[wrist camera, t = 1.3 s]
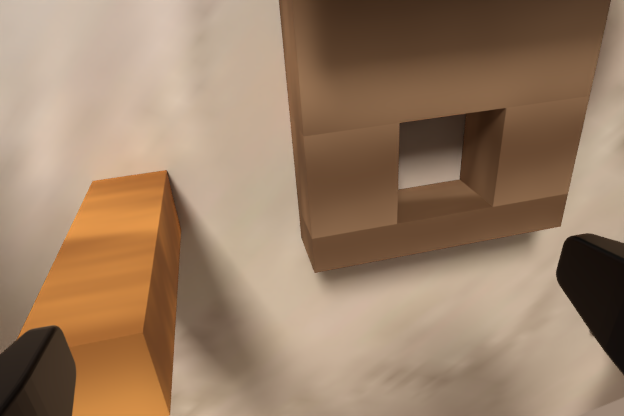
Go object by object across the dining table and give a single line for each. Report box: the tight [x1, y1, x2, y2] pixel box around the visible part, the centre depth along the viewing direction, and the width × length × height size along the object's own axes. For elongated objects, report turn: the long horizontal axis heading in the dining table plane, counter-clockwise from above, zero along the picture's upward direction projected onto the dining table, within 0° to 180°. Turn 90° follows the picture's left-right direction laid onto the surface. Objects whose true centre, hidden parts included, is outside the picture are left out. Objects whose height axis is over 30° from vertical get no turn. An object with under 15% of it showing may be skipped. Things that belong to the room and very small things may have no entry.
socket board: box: [279, 0, 611, 273], centre depth 17 cm, size 16×13×7 cm
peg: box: [17, 170, 181, 416], centre depth 16 cm, size 3×3×10 cm
